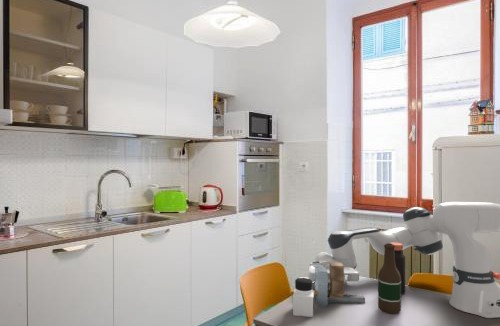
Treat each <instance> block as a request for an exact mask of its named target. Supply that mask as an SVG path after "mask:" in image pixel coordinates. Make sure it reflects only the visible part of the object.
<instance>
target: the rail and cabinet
mask: <svg viewBox="0 0 500 326" xmlns="http://www.w3.org/2000/svg"><path fill="white" fill-rule="evenodd" d="M314 291H316V295H314V301H315V302H316V305H317V307H326V308H327V307H328V304H330V303H333V304H365V303H366V297H365V295H363V294H343V298H338V297H329V295H327V291H328V283H327V270H326V269H325V267H324V266H315V281H314Z"/></svg>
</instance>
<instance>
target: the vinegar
mask: <svg viewBox="0 0 500 326" xmlns="http://www.w3.org/2000/svg"><path fill="white" fill-rule="evenodd" d="M390 244H393V245H395V248H394V253H395V265H396V268H397V269H398V271H399V273H400V276H401V296H402V295H404V294H406V256H405V254H403V251H404V250H403V244H401V243H390Z"/></svg>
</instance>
